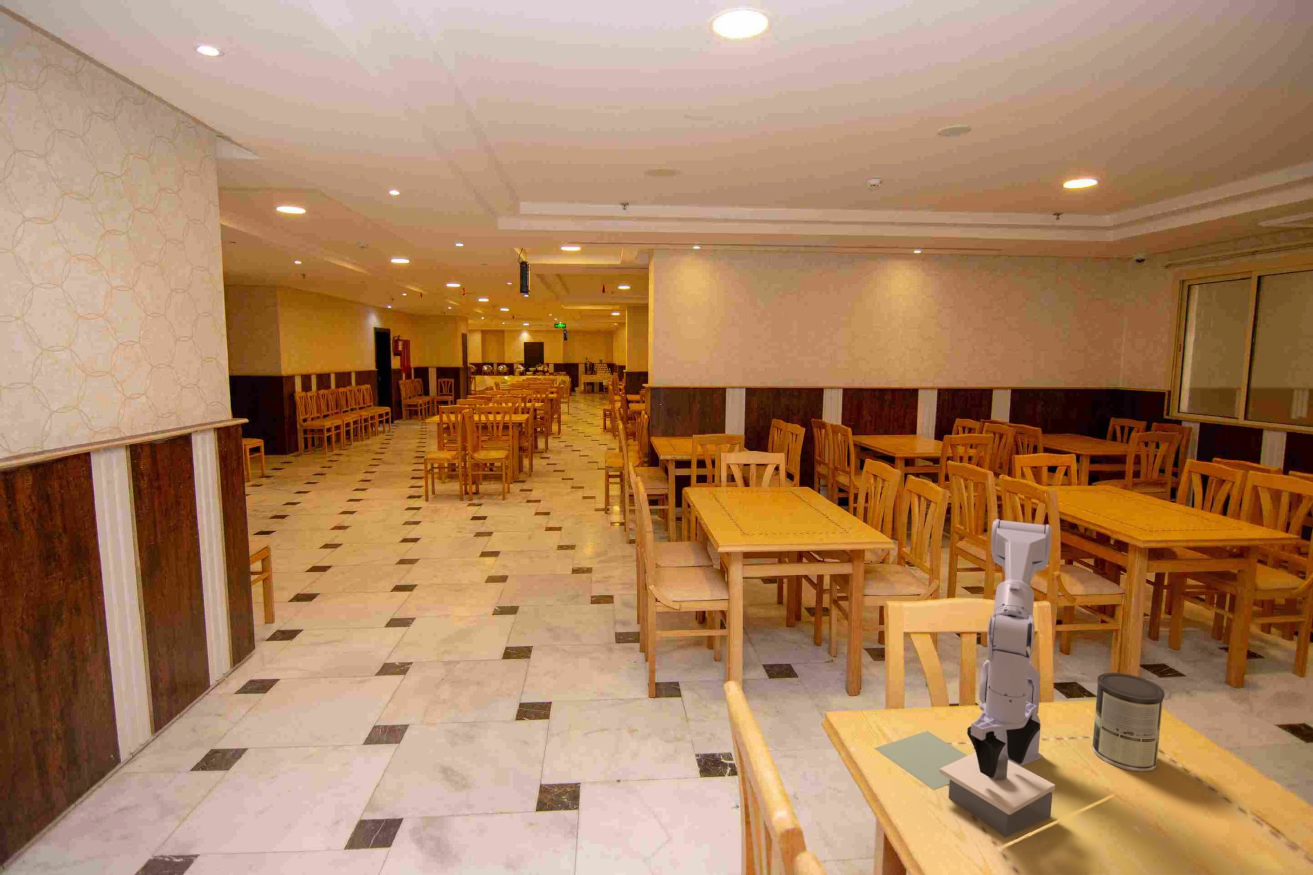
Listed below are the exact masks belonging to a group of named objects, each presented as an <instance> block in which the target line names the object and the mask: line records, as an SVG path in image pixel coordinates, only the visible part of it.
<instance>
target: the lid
mask: <svg viewBox="0 0 1313 875" xmlns="http://www.w3.org/2000/svg"><path fill="white" fill-rule="evenodd" d="M967 755H968V756H966V757H964V758H962V759H959V760H957V761H955V762H953V763H951V764H949V765H947V766H944V767H942V768H940V774H942V775H944V776H945V777H947V778H949V779H950V780H952V781H954V782H955V783H957V784H959V785H960V786H962V787H964V788H965V789H967V790H969V791H970V792H972V793H974V794H975V795H977V796H979V797H980V798H982V799H984V800H985V801H987V802H989V803H990V804H992V805H994V806H995V807H997V808H999V809H1000V810H1002V811H1004V812H1005V813H1007V814H1009V815H1010V814H1012V813H1014V812H1016V811H1018V810H1019V809H1021V808H1023V807H1025V806H1026V805H1028V804H1030V803H1032V802H1033V801H1035V800H1037V799H1039V798H1041V797H1042V796H1044V795H1046V794H1048V793H1049V792H1052V791H1055V789H1056V784H1055V783H1053V782H1051V781H1049V780H1047V779H1045V778H1043V777H1041V776H1039V775H1037V774H1036V773H1034V772H1032V771H1030V770H1028V769H1027V768H1025V767H1022V766H1019V765H1017V764H1015V763H1013V762H1011V761H1009V760H1008V757H1007V756H1006V755H1005V754H1003V753H1000V755H999V758H998V762H997V768H996V773H995V775H994V777H993V778H990V777H988V776H986V775H984V774H983V773H981V772H980V769H979V764H978V759H977V755H976V752H975V751H974V752H973V753H971V754H967Z"/></svg>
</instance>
